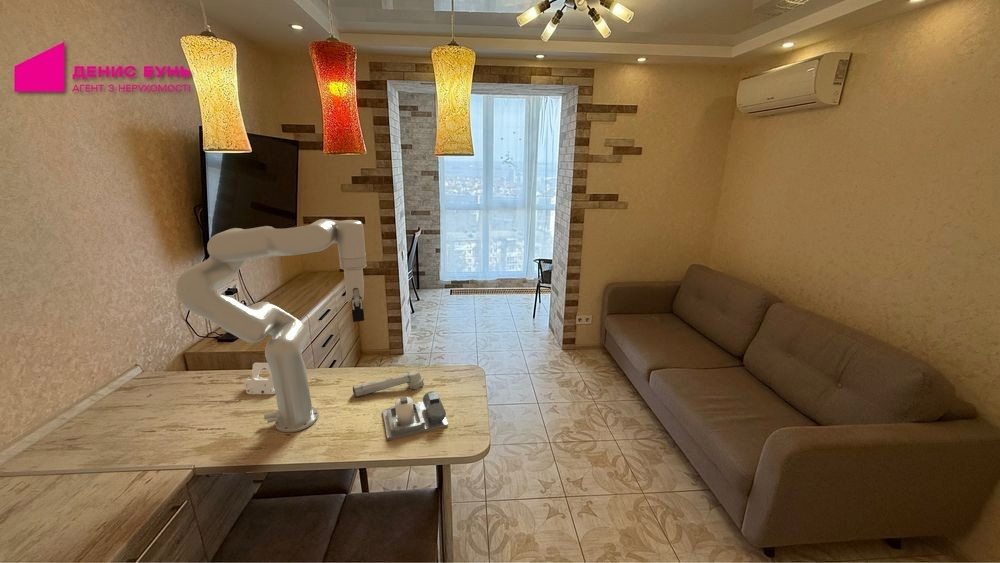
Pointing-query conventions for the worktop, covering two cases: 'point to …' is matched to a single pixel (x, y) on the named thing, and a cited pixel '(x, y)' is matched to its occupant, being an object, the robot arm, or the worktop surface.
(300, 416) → the robot arm
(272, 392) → the mounting bracket
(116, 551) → the worktop surface
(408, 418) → the cylinder
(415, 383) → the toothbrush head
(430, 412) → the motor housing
